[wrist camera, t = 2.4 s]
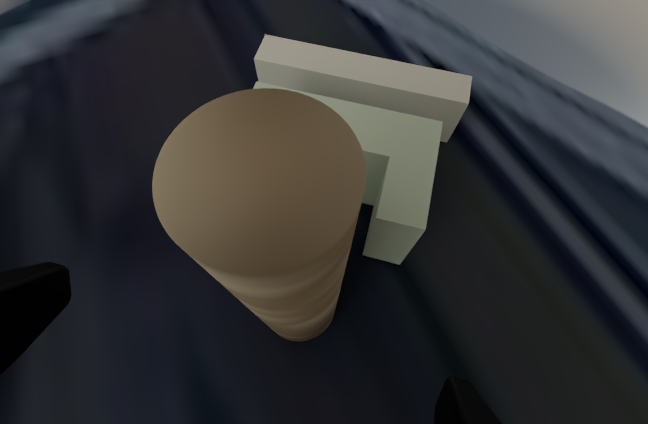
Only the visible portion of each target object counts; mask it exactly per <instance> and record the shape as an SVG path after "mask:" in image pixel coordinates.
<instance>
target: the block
mask: <svg viewBox="0 0 648 424" xmlns="http://www.w3.org/2000/svg"><path fill="white" fill-rule="evenodd" d="M259 88H276V89H284V90H290V91H294V92H298V93H302V94H304V95H307V96H310V97H312V98H314V99H316V100H318V101H321V102H322V103H324V104H325V105H327V106H329V107H330V108H332V109H333V110H334V111H335V112H336V113H338V114H339V115H340V116H341V117H342V118H343V119H344V120H345V121H346V122H347V123H348V125H349V126H350V127H351V129H352V130H353V132H354V133H355V135H356V137H357V139H358V141H359V143H360V145H361V148H362V151H363V154H364V159H365V165H366V183H365V191H364V195H363V199H362V203H365V204H369V205H373V206H374V207H373V212H372V216H371V220H370V225H369V229H368V233H367V238H366V242H365V246H364V251H363V255H364V256H368V257H372V258H375V259H379V260H383V261H387V262H391V263H395V264H399V265H400V264H401V262H402V261H403V260H404V258H405V257H406V256H407V254H408V253H409V252H410V250H411V249H412V248H413V246H414V245H415V244H416V242H417V241H418V240H419V238H420V237H421V235H422V234H423V233H424V231H425V230H426V224H427V218H428V212H429V206H430V199H431V193H432V187H433V181H434V175H435V168H436V162H437V156H438V150H439V143H440V137H441V131H442V125H443V122H442V121H438V120H433V119H428V118H424V117H419V116H414V115H410V114H405V113H400V112H396V111H391V110H386V109H382V108H377V107H373V106H368V105H363V104H359V103H354V102H349V101H345V100H340V99H335V98H331V97H326V96H322V95H317V94H312V93H308V92H303V91H298V90H294V89H289V88H284V87H280V86H275V85H271V84H266V83H261V82H257V81H256V84H255V86H254V88H253V89H259Z"/></svg>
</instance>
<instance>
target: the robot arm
mask: <svg viewBox="0 0 648 424" xmlns="http://www.w3.org/2000/svg"><path fill="white" fill-rule="evenodd" d="M70 299H71V285H70V275H69V270H68V268H67V267H65V266H63V265H59V264H56V263H52V262H46V263H41V264H36V265H31V266H26V267H21V268H16V269H11V270H7V271H2V272H0V375H1V374H2V373H3V372H4V371H5V370H6V369H7V368H8V367H9V366H10V365H11V364H12V363H13V362H14V361H16V360H17V359H18V357H19V356H20V355H21V354H22V353H23V352H24V351H25V350H26V349H27V348H28V347H29V346H30V345H31V344H32V343H33V342H34V340H35V339H36V338H37V337H38V336H39V335H40V334H41V333H42V332H43V331H44V330H45V329H46V328H47V326H48V325H49V324H50V323H51V322H52V321H53V320H54V319H55V318H56V317H57V316H58V315H59V313H60V312H61V311H62V310H63V309H64V308H65V307H66V306H67V305H68V303H69V301H70ZM434 424H502V423H501V422H500V421H499V419H498V418H497V417H496V415H495V414H494V413H493V411H492V410H491V409H490V408H489V406H488V405H487V404H486V402H485V401H484V400H483V398H482V397H481V396H480V394H479V393H478V392H477V391H476V389H475V388H474V387H473V385H472V384H471V383H470V382H469V381H467V380H464V379H461V378H457V377H454V376H450V377H448V378H447V379H446V381H445V384H444V386H443V388H442V391H441V393H440V395H439V398H438V400H437V402H436V406H435V413H434Z"/></svg>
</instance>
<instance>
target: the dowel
mask: <svg viewBox="0 0 648 424" xmlns="http://www.w3.org/2000/svg"><path fill="white" fill-rule="evenodd" d="M365 183H366V165H365V159H364V154H363V151H362V148H361V145H360V143H359V141H358V139H357V137H356V135H355V133H354V132H353V130H352V129H351V127H350V126H349V125H348V123H347V122H346V121H345V120H344V119H343V118H342V117H341V116H340V115H339V114H338V113H336V112H335V111H334V110H333V109H332V108H330V107H329V106H327V105H325V104H324V103H322V102H321V101H318V100H316V99H314V98H312V97H310V96H307V95H304V94H302V93H298V92H294V91H290V90H284V89H276V88H259V89H249V90H243V91H238V92H234V93H231V94H227V95H224V96H222V97H219V98H217V99H214V100H212V101H211V102H209V103H207V104H205V105H203V106H201V107H200V108H198V109H197V110H195V111H194V112H192V113H191V114H190V115H189V116H188V117H186V118H185V119H184V120H183V121H182V122H181V123H180V124H179V125H178V126H177V127H176V128H175V129H174V131H173V132H172V133H171V135H170V136H169V137H168V139H167V140H166V142H165V144H164V145H163V147H162V149H161V151H160V154H159V156H158V158H157V161H156V165H155V169H154V173H153V183H152V190H153V200H154V205H155V209H156V212H157V215H158V217H159V220H160V222H161V224H162V225H163V227H164V229H165V230H166V232H167V234H168V235H169V236H170V237H171V238H172V240H173V241H174V242H175V243H176V244H177V245H178V246H179V247H180V248H181V249H183V250H184V251H185V252H186V253H187V254H188V255H189V256H190V257H192V258H193V259H194V260H195V261H196V262H197V263H198V264H199V265H201V266H202V267H203V268H204V269H205V270H206V271H207V272H208V273H209V274H211V275H212V276H213V277H214V278H215V279H216V280H217V281H218V282H220V283H221V284H222V285H223V286H224V287H225V288H226V289H227V290H229V291H230V292H231V293H232V294H233V295H234V296H235V297H236V298H237V299H239V300H240V301H241V302H242V303H243V304H244V305H245V306H246V307H248V308H249V309H250V310H251V311H252V312H253V313H254V314H255V315H257V316H258V317H259V318H260V319H261V320H262V321H263V322H264V323H266V324H267V325H268V326H269V327H270V328H271V329H272V330H273V331H274V332H276V333H277V334H278V335H279V336H281V337H283V338H285V339H287V340H291V341H307V340H310V339H313V338H315V337H317V336H319V335H320V334H321V333H323V332H324V331H325V330H326V329H327V327H328V326H329V324H330V323H331V321H332V319H333V316H334V313H335V309H336V305H337V301H338V297H339V292H340V288H341V284H342V280H343V276H344V272H345V268H346V264H347V260H348V256H349V252H350V248H351V244H352V240H353V236H354V232H355V228H356V223H357V219H358V215H359V211H360V207H361V203H362V199H363V195H364V191H365Z"/></svg>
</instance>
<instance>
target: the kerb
mask: <svg viewBox="0 0 648 424" xmlns="http://www.w3.org/2000/svg"><path fill="white" fill-rule="evenodd" d="M254 62H255V66H256V71H257V76H258V81H259V82H261V83H266V84H271V85H275V86H280V87H284V88H289V89H294V90H298V91H303V92H308V93H312V94H317V95H322V96H326V97H331V98H335V99H340V100H345V101H349V102H354V103H359V104H363V105H368V106H373V107H377V108H382V109H386V110H391V111H396V112H400V113H405V114H410V115H414V116H419V117H424V118H428V119H433V120H438V121H442V122H443V125H442V131H441V137H440V141H442V142H446V143H447V142H448V140H449V138H450V137H451V135H452V133H453V131H454V129H455V128H456V126H457V124H458V122H459V120H460V119H461V117H462V115H463V113H464V111H465V110H466V108H467V106H468V104H469V98H470V90H471V82H472V76H468V75H463V74H458V73H453V72H448V71H444V70H439V69H434V68H429V67H424V66H419V65H414V64H409V63H404V62H399V61H394V60H389V59H384V58H379V57H374V56H369V55H364V54H359V53H354V52H349V51H344V50H339V49H334V48H329V47H325V46H320V45H315V44H310V43H305V42H300V41H295V40H290V39H285V38H280V37H275V36H270V35H265V37H264V39H263V41H262V43H261V45H260V47H259V49H258V51H257V53H256V56H255V58H254Z"/></svg>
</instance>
